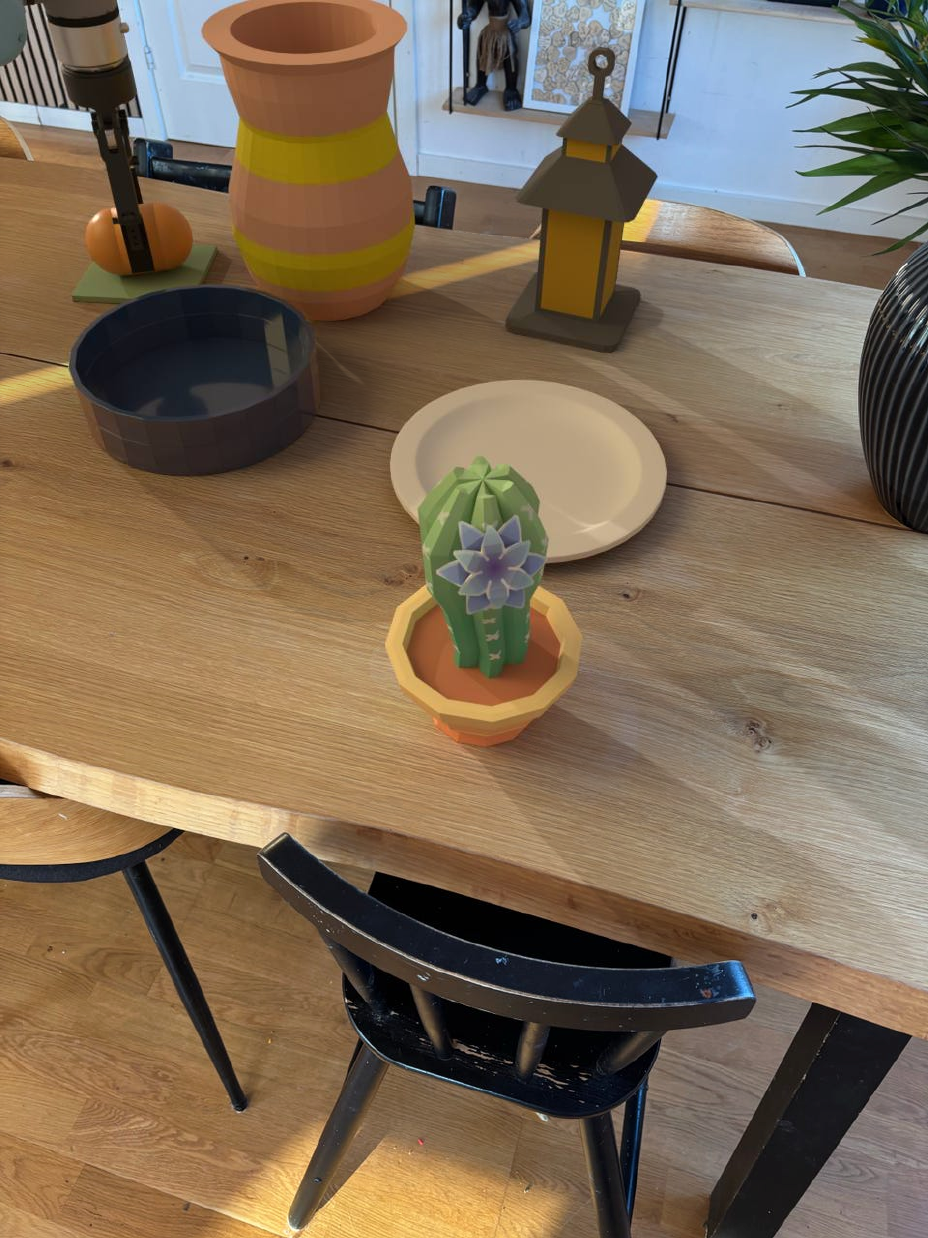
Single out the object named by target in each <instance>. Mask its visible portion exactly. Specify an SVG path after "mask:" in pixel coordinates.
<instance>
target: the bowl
mask: <svg viewBox="0 0 928 1238" xmlns="http://www.w3.org/2000/svg"><path fill="white" fill-rule="evenodd" d="M68 359H69V362H68V367H67V368H68V372H69V374H70V377H71V380H72V382H73V383H72V384H73V386H74V389H75V392H76V395H77V398H78V402H79V404H80V407H81V410H82V413H83V416H84V419H85V421H86V424H87V427H88V431H89V432H90V435H91V437H92V438H93V440H94V442H96V444H97V445H98V446H99V448H101V450H102V451H104V452H105V453H106V454H108V455H109V456H110V457H112V458H113V459H114V460H116V461H118V462H119V463H122V464H124V465H127V466H129V467H131V468H134V469H137V470H139V471H143V472H148V473H153V474H158V475H166V476H167V475H168V476H174V477H175V476H176V477H177V476H178V477H179V476H181V477H193V476H196V477H197V476H207V475H214V474H222V473H227V472H231V471H235V470H239V469H243V468H246V467H249V466H251V465H255V464H257V463H259V462H263V461H264V460H266V459H269V458H271V457H274V455H276V454H278V453H280V452H282V451H283V450H285V449H286V448H288V447H289V446H290V445H292V444H293V443H294V442H296V441H297V440H298V439H299V438H300V437H302V436H303V435H304V433H305V432H306V431H307V430H308V428H309V427H310V426H311V425H312V423H313V421H314V420H315V418H316V416H317V413H318V411H319V408H320V404H321V396H322V392H321V391H322V390H321V383H320V375H319V374H320V373H319V364H318V356H317V348H316V340H315V335H314V330H313V326H312V324H311V323H310V322H309V321H308V319H306V318H305V316H304V315H303V313H302V312H301V311H299V310H298V309H297V308H295V307H294V306H292V305H291V304H290V303H288V302H287V301H286V300H284V299H281V298H279V297H276V296H274V295H271V294H269V293H267V292H264V291H263V290H262V289H261V290H260V289H256V288H251V287H246V286H240V285H235V284H234V285H233V284H217V283H216V284H215V283H204V284H203V283H202V285H191V286H179V287H173V288H168V289H164V290H159V291H155V292H150V293H147V294H144V295H142V296H139V297H136V298H134V299H131V300H129V301H126V302H123V303H118V305H115V306H113V307H112V308H111V309H109V310H107V311H105V312H103V313H102V314H100V315H99V316H97V317H96V318H95V319H94V320H93V321H92V322H91V323H89V325H88V326H86V327H85V328H84V329H82V331H81V332H80V334H79V335H78V337H77V339H76V340H75V342H74V343H73V345H72V347H71V348H70V352H69V358H68Z"/></svg>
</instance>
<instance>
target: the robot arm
mask: <svg viewBox="0 0 928 1238" xmlns="http://www.w3.org/2000/svg"><path fill="white" fill-rule="evenodd" d="M39 4H42V5H43V8H44V10H45V11H44V13H45V16H46V22H47V26H48V29H49V34H50V37H51V41H52V44H53V48H54V51H55V55H56V59H57V61H58V62H60V63H61V66H60V72H61V76H62V80H63V83H64V87H65V91H66V94H67V97H68V100H69V101H70V102H71V103H72V104H73V105H75V106H77V107H80V108H83V109H86V108H87V109H91V110H93V111H90V113H89V114H90V118H91V121H90V123H91V129H92V133H93V135H94V138H95V139H96V140H97V145H98V150H99V154H100V157H101V160H102V161H103V162H104V164H105V168H106V173H107V176H108V181H109V185H110V190H111V194H112V198H113V204H114V207H116V212H117V217H114V218H112V220H113V224H120V228H121V231H122V235H123V239H124V243H125V247H126V251H127V255H128V259H129V263H130V266H131V270H132V274H133V273H141V272H149V271H155V267H154V263H153V259H152V255H151V250H150V246H149V242H148V238H147V234H146V229H145V225H144V221H143V217H142V214H141V213H140V210H139V205H138V204H145V203H144V199H143V196H142V190H141V186H140V182H139V178H138V175H137V170H136V166H141V164H140V159H139V155H133V150H132V147H131V142H130V138H129V137H130V134H131V132H130V127H129V120H128V114H127V111H126V108H121V107H120V106H121V105H126V104H128V103H130V102H131V101H133V100H134V99H135V97H136V95H137V93H138V87H137V84H136V80H135V79H136V78H135V75H134V70H133V65H132V61H131V60H130V58H128V57H127V55H128V52H129V51H128V45H127V41H126V36H125V34H127V33H129V32H130V26H129V25H128V23H127V22H124V21H123V22H121V15H120V8H119V2H118V0H0V67H3V66H6V65H8V64H11V63H12V62H14V61H15V60H16V59H17V58H18V57H19V56H20V54H21V53H22V52H23V50H24V48H25V46H26V43H27V41H28V22H27V21H28V20H27V15H26V14H27V9H26V7H27V6H28V7H29V6H35V5H39ZM134 166H135V167H134Z"/></svg>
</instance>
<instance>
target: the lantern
mask: <svg viewBox="0 0 928 1238" xmlns="http://www.w3.org/2000/svg"><path fill="white" fill-rule="evenodd" d="M598 56H603V58H604V57H605V59H606V62H607V66H606V67H600V66H599V65H598V63H597V60H596V59H597V57H598ZM616 56H617V55H616V53H615V52H614V51H613V50H612V49H611V48H610V47H607V46H606V47H605V46H598V47H595V48H594V49H593V50H592V51H591V52H590V53H589V54H588V59H587V60H588V61H587V71H588V73H589V74H590V75H591V76H593V85H592V94H591V96H589V97H588V98H587V99H586V100H585V101H583V102H582V103H581V104H580V105H579V106H578V107H577V108H576V109H574V110H573V111H572V112H571V113H570V114H569V115H568V116H567V118H566V119H565V121H564V122H563V123H562V125H561V126H560V128H559V129H558V130H557V131H556V133H555V136H556V137H558V138H562V145H561V146H559V147H557V148H556V149H554V150H553V151H552V152H550V153H549V154H546V156H544V157H543V159H542V160H541V162H540V163H539V165H538V166H537V167H536V168H535V170H533V172H532V174H531V175H530V177H529V178H528V179H527V180H526V182H525V183H524V185H523V186H522V187H521V188H520V190H519V191H518V193H517V194H516V195H515V197H514V198H515V201H516V203H519V204H520V205H524V206H528V207H535V208H539V209H540V208H541V209H542V211H541V224H540V236H539V250H538V261H537V271H536V272H534V273H533V275H532V277H531V278H530V280H529V281H528V283H527V284H526V286H525V288H524V289H523V290H522V292H521V294H520V295H519V297H518V299H517V300H516V302H515V303H514V305H513V307H512V308H511V310H510V311H509V313H508V314H507V316H506V318H505V328H506V331H508V332H510V333H512V334H517V335H521V336H524V337H525V336H526V337H530V338H535V339H540V340H543V341H549V342H553V343H556V344H562V345H566V346H570V347H571V346H572V347H576V348H580V349H584V350H588V351H589V350H590V351H593V352H599V353H607V354H609V353H613V352H615V351H617V350H618V348H619V346H620V344H621V343H622V340H623V339H624V335H625V333H626V331H627V330H628V327H629V325H630V323H631V321H632V319H633V317H634V316H635V315H634V314H635V313H636V311H637V308H638V306H639V305H640V303H641V297H642V294H641V292H640V290H639V289H637V288H635V287H631V286H628V285H627V286H626V285H623V284H616V283H617V278H618V271H619V264H620V257H621V250H622V244H623V236H624V228H625V223H627V224H628V223H631V222H633V221H635V220H636V218H637V216H638V214H639V212H640V211H641V209H642V207H643V206H644V204H645V202H646V200H647V198H648V195H649V194H650V192H651V191H652V188H653V187H654V185H655V183H656V181H657V179H658V178H659V176H658V174H657V172H656V171H654V170H653V169H652V168H651V167H650V166H649V165H648V164H647V163H645V162H644V161H642V160H641V159H640V158H639V156H637V155H636V154H634V153H633V152H632V151H631V150H630V149H628V147H626V146H625V145H624V144H623V139H624V137H625V135H626V134H627V133H628V131H629V129H630V128H631V126H632V125H633V123H632V121H631V120H630V119H629V118H628V117H627V116H626V115H625V114H624V113H623V112H622V111H621V110H620V109H619V108H618V107H617V106H616V104H615V103H613V101H611V99H609V98H606V97H604V93H605V85H606V78H607V77H610V76H611V74H612V73H613V71H614V69H615V65H616Z"/></svg>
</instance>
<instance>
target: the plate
mask: <svg viewBox="0 0 928 1238" xmlns="http://www.w3.org/2000/svg"><path fill="white" fill-rule="evenodd" d="M390 452H391V453H390V459H389V471H390V480H391V484H392V487H393V490H394V492H395V496H396V498H397V499H398V501H399V502H400V504H401V506H402V508H403V509H404V510H405V512H406V513H407V514H408V515H409V516H410V517H411V518H412V519H413V520H414V521H415V522H416V524H418V525H419V517H418V507H419V506H420V504H421V503H422V502H423V500H424V499H425V498H426V496H427V495H428V494H429V493H430V491H431V490H432V489H433V488H434V486H436V485H437V484H438V483H439V482H440V481H441V480H442V479H443V478H444V477H445V476H446V475H447V474H448V473H449V472H451V471H452V470H453V469H454V468H455V467H462V468H465V469H467V470H468V469H469V467H470V466H471V464H472V462H473V461H474V459H475V457H477V456H483V457H484V458H485V459H486V460H487V461H488V462H489V464H490V466H491V469H492V470H493V469H494V468H495V467H496V466H497V465H499V464H502V463H507V464H508V465H510V466H511V467H512V468H513V469H514V470H515V471H516V472H517V473H518V474H520V475H521V476H522V477H523V478H524V479H525V480H526V481H527V482H528V483H530V484H531V485H532V486H533V488H534V490H535V492H536V494H537V496H538V498H539V500H540V504H539V511H538V517H539V518H540V520H541V522H542V525H543V527H544V529H545V531H546V534H547V536H548V538H549V542H548V548H547V554H546V557H547V562H546V563H545V564H553V563H554V564H555V563H564V562H565V563H566V562H570V561H575V560H580V559H586V558H588V557H592V556H595V555H597V554H600V553H604V552H607V551H609V550H611V549H613V548H615V547H617V546H619V545H621V544H623V543H625V542H627V541H628V540H629V539H630V538H632V537H634V536H635V535H636V534H638V533H639V532H641V530H642V529H644V527H645V526H646V525H648V523H649V522H650V521H651V520H652V519H653V518H654V516H655V515H656V513H657V511H658V510H659V508H660V506H661V504H662V502H663V501H662V500H663V498H664V495H665V492H666V489H667V476H668V469H667V463H666V458H665V455H664V452H663V451H662V448H661V445H660V443H659V441H657V439H656V438H655V436H654V435H653V433H652V432H651V430H650V429H649V428H648V427H647V426H646V425H645V424H644V422H642V420H640V419H639V418H637V417H636V416H635V415H634V414H632V413H631V412H630V411H628V409H626V408H624V407H623V406H621V405H619V404H617V403H616V402H614V401H613V400H611V399H608V398H606V397H604V396H602V395H599V394H597V393H595V392H592V391H590V390H586V389H583V388H580V387H577V386H574V385H568V384H563V383H559V382H553V381H547V380H546V381H545V380H538V379H537V380H535V379H508V380H507V379H506V380H494V381H488V382H482V383H476V384H473V385H470V386H465V387H461V388H459V389H456V390H453V391H451V392H449V393H446V394H443V395H442V396H440V397H438V398H436V399H434V400H432V401H430V402H429V403H427V404H426V405H425V406H423V407H421V408H420V409H419V410H418V411H416V412H415V413H414V414H413V415H412V416H411V417H410V418H409V419H408V420H407V421H406V422H405V423H404V425H403V426H402V428H401V429H400V431H399V432H398V434H397V436H396V438H395V440H394V443H393V445H392V448H391V451H390Z"/></svg>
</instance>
